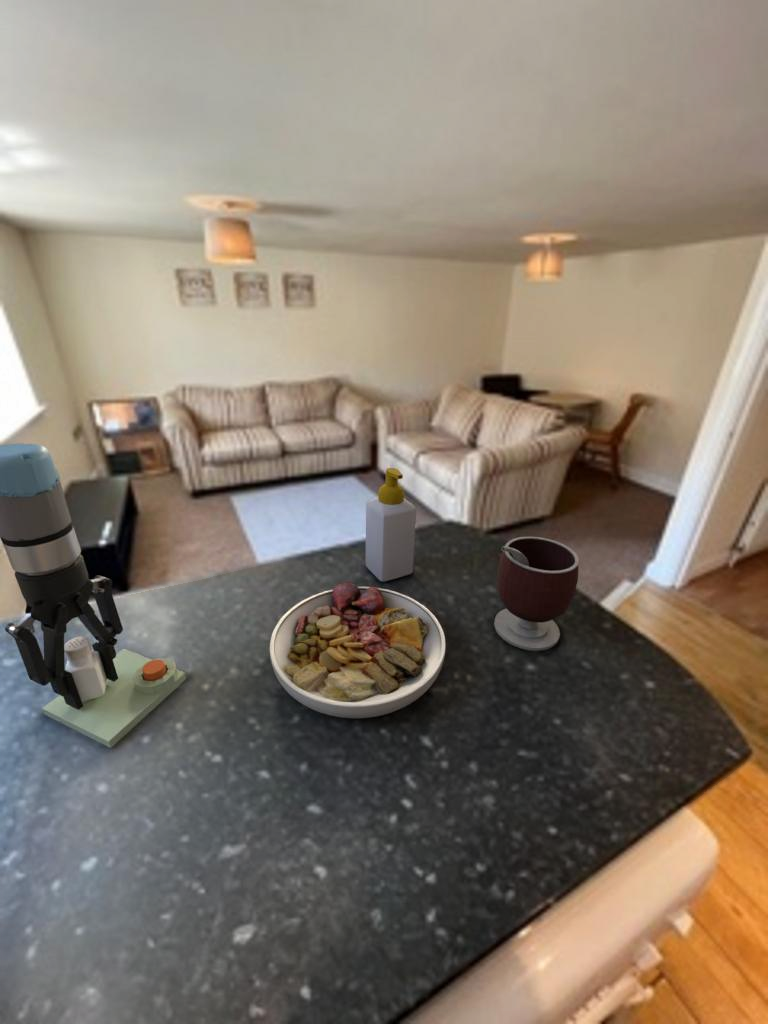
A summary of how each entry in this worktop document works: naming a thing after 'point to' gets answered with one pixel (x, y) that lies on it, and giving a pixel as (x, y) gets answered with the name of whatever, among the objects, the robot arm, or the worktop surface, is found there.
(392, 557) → the soap bottle
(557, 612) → the mate gourd
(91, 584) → the robot arm
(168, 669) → the scale
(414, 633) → the bowl
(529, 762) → the worktop surface
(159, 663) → the button
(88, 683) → the pepper shaker
